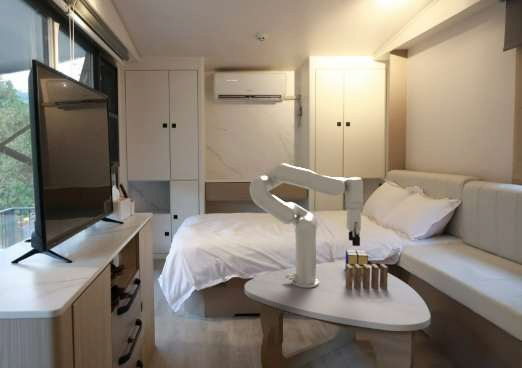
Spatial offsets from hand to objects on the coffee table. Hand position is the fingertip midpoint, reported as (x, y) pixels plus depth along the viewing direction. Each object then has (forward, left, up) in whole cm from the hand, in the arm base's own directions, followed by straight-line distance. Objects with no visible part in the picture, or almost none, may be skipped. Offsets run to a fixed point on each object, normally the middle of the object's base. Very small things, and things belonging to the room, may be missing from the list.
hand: (354, 242), depth 157 cm
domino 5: (+14, 0, -21) cm, 25 cm away
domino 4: (+10, 0, -21) cm, 23 cm away
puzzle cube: (+8, +22, -21) cm, 31 cm away
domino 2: (+2, 0, -21) cm, 21 cm away
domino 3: (+6, 0, -21) cm, 22 cm away
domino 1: (-2, 0, -21) cm, 21 cm away
